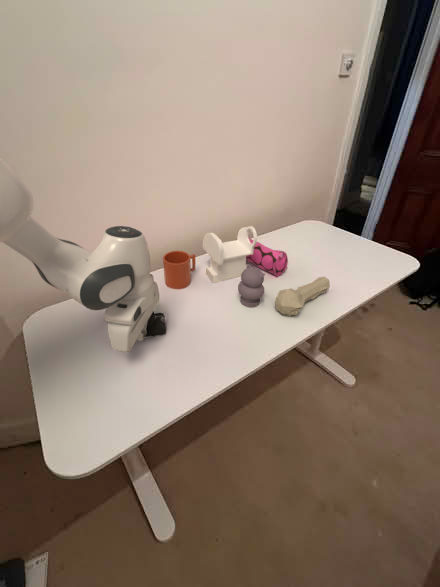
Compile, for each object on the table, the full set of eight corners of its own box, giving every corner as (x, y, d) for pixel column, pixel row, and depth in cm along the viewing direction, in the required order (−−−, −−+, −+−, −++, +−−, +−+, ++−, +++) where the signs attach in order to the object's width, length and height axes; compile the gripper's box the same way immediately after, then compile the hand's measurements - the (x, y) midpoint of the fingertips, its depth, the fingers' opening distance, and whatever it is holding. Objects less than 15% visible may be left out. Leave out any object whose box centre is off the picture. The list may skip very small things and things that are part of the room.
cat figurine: (231, 298, 97) (234, 266, 90) (249, 290, 101) (253, 258, 94) (249, 312, 91) (253, 280, 84) (267, 303, 95) (273, 271, 88)
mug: (175, 292, 98) (173, 267, 92) (159, 280, 103) (157, 256, 97) (203, 279, 105) (203, 255, 99) (187, 268, 110) (186, 245, 104)
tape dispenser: (237, 262, 115) (241, 217, 104) (254, 280, 105) (260, 233, 95) (202, 270, 109) (203, 223, 99) (217, 289, 100) (220, 240, 89)
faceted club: (265, 306, 93) (313, 281, 107) (284, 326, 89) (331, 298, 103) (276, 287, 86) (325, 263, 100) (297, 308, 83) (345, 280, 97)
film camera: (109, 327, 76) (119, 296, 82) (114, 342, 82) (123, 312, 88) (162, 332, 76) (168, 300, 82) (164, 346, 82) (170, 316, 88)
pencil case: (229, 257, 117) (230, 234, 111) (245, 249, 123) (248, 226, 117) (273, 281, 106) (278, 256, 100) (289, 271, 111) (294, 247, 105)
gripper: (139, 268, 78) (145, 309, 86) (99, 320, 62) (111, 364, 70) (163, 272, 77) (166, 313, 85) (128, 325, 61) (136, 369, 69)
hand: (141, 336), depth 78 cm, fingers closed
